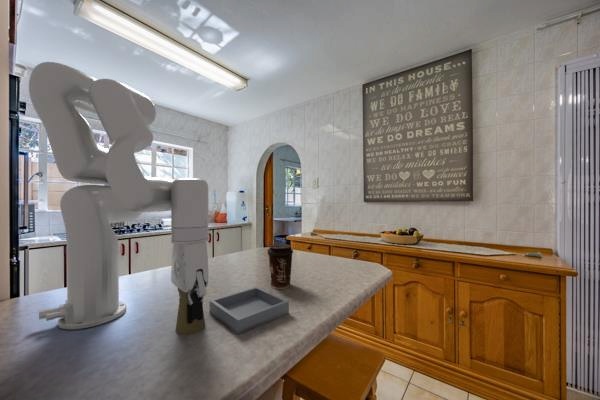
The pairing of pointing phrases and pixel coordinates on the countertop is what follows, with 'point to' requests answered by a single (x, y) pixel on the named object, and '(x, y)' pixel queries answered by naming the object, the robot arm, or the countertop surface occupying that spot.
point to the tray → (248, 309)
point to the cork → (182, 324)
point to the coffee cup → (280, 265)
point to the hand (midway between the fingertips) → (190, 316)
